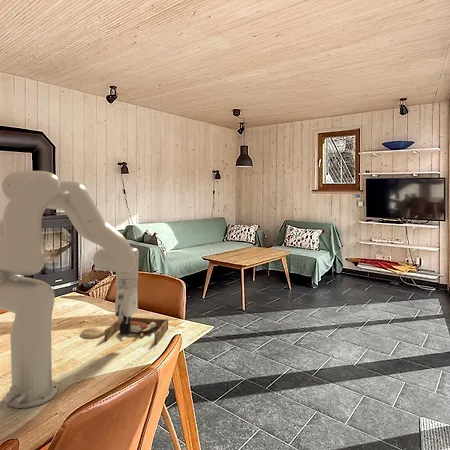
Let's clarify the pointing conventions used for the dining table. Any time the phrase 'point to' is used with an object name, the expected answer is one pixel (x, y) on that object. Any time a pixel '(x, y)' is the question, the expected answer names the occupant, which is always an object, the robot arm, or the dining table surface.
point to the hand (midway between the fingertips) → (125, 333)
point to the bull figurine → (141, 327)
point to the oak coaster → (93, 332)
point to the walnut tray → (160, 323)
